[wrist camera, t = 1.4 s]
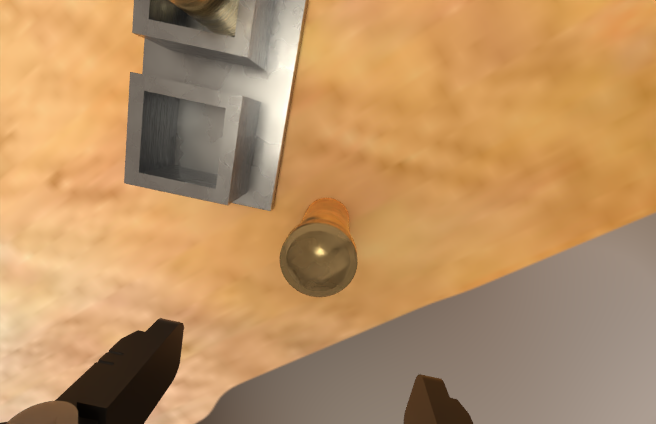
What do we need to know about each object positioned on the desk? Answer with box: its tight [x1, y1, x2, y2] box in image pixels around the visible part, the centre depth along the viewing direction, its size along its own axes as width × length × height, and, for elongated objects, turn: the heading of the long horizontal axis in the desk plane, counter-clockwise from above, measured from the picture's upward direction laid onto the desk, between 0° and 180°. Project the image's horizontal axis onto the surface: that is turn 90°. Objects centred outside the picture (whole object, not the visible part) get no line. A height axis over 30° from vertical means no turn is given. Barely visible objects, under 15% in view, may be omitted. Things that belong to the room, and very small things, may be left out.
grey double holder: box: [124, 0, 308, 211], centre depth 22 cm, size 12×20×11 cm, turn 168°
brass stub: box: [280, 198, 357, 297], centre depth 25 cm, size 5×5×10 cm
